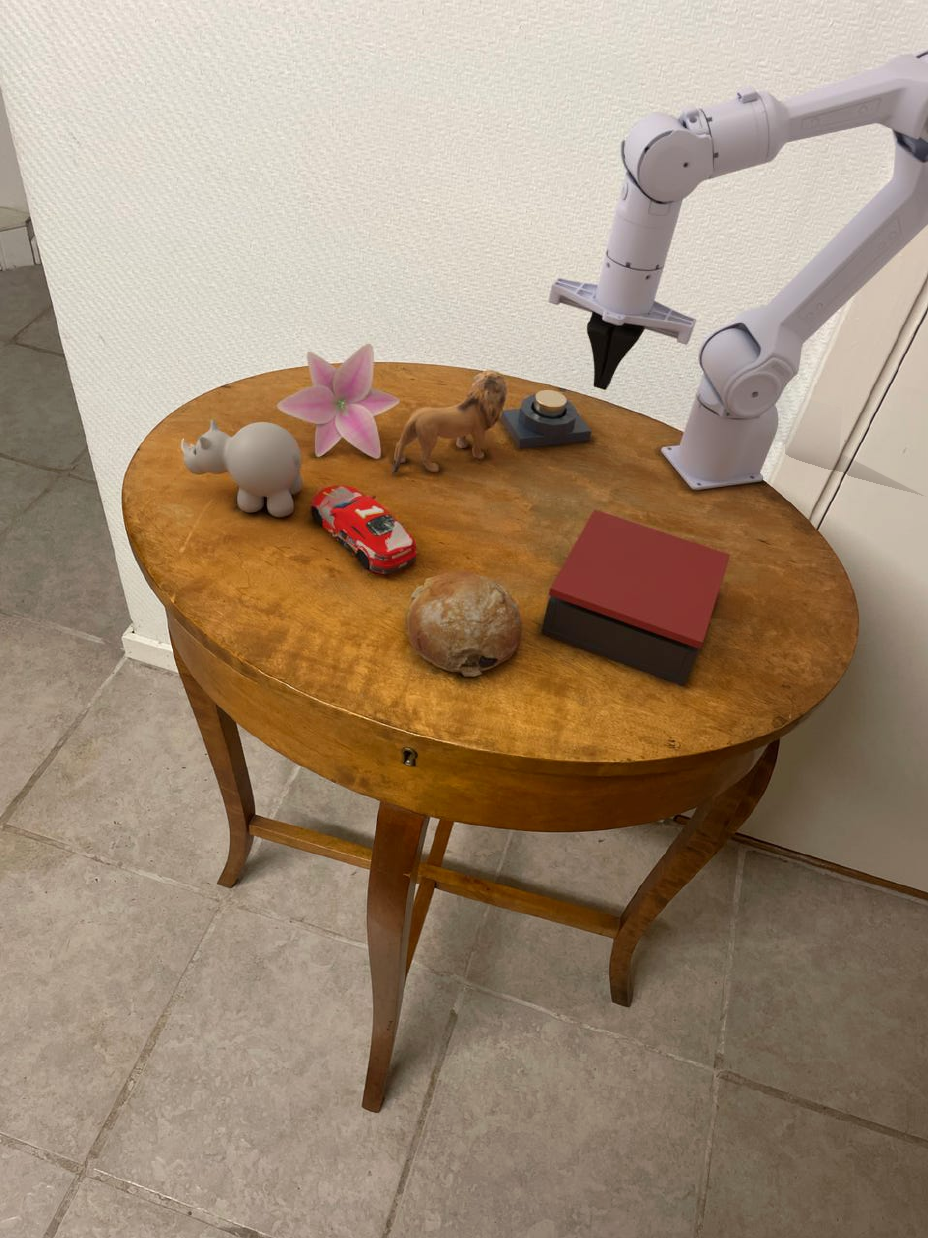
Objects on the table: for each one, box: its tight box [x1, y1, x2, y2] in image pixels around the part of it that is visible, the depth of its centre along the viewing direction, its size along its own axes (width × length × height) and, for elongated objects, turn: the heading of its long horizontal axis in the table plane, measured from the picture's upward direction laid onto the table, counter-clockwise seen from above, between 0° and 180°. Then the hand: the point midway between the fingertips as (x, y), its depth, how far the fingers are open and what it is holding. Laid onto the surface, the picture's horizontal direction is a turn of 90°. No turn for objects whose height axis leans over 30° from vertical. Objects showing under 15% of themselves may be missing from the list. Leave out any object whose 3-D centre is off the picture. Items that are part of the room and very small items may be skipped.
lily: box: [276, 343, 401, 460], centre depth 100 cm, size 12×12×10 cm
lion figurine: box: [390, 369, 508, 474], centre depth 99 cm, size 15×5×9 cm, turn 130°
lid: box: [548, 509, 731, 650], centre depth 83 cm, size 14×14×1 cm
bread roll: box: [406, 570, 523, 678], centre depth 81 cm, size 10×10×8 cm
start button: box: [533, 389, 568, 419], centre depth 105 cm, size 4×4×2 cm
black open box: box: [540, 595, 700, 687], centre depth 85 cm, size 14×14×4 cm
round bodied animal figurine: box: [180, 419, 303, 518], centre depth 90 cm, size 7×12×8 cm, turn 80°
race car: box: [310, 484, 418, 575], centre depth 89 cm, size 13×5×4 cm, turn 39°
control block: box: [500, 393, 592, 449], centre depth 107 cm, size 9×6×3 cm
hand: (601, 384), depth 96 cm, fingers closed
